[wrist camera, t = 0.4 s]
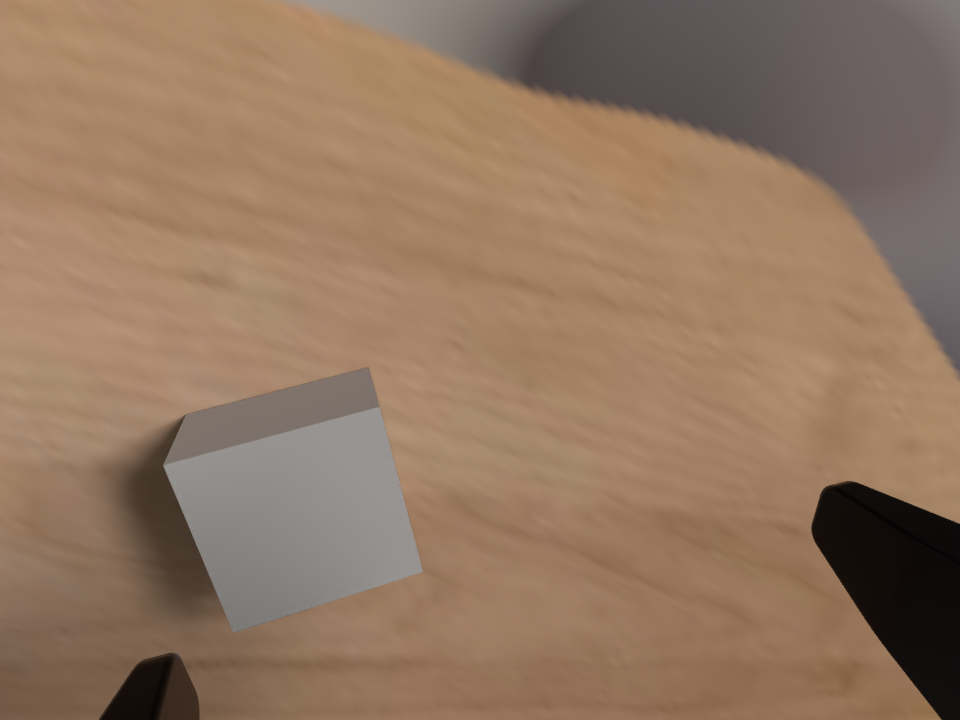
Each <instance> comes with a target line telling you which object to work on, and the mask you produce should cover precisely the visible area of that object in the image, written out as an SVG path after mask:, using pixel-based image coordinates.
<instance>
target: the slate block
mask: <svg viewBox="0 0 960 720" xmlns="http://www.w3.org/2000/svg"><path fill="white" fill-rule="evenodd" d="M163 466H164V469H165V471H166V473H167V476H168V478H169V481H170V483H171V485H172V488H173V490H174V493H175V495H176V497H177V500H178V502H179V504H180V507H181V509H182V512H183V514H184V516H185V519H186V521H187V524H188V526H189V528H190V531H191V533H192V536H193V538H194V540H195V543H196V545H197V547H198V550H199V552H200V555H201V557H202V559H203V562H204V564H205V567H206V569H207V571H208V574H209V576H210V578H211V581H212V583H213V586H214V588H215V590H216V593H217V595H218V598H219V600H220V602H221V605H222V607H223V610H224V612H225V614H226V617H227V619H228V621H229V624H230V626H231V629H232V631H233V633H235V632H238V631H241V630H244V629H247V628H250V627H254V626H257V625H260V624H263V623H266V622H269V621H272V620H275V619H278V618H282V617H285V616H288V615H291V614H294V613H297V612H300V611H303V610H306V609H309V608H313V607H316V606H319V605H322V604H325V603H328V602H331V601H334V600H337V599H341V598H344V597H347V596H350V595H353V594H356V593H359V592H362V591H365V590H369V589H372V588H375V587H378V586H381V585H384V584H387V583H390V582H393V581H397V580H400V579H403V578H406V577H409V576H412V575H415V574H418V573H421V572H423V570H422V566H421V562H420V559H419V555H418V551H417V547H416V543H415V540H414V536H413V532H412V528H411V524H410V521H409V517H408V513H407V509H406V505H405V502H404V498H403V494H402V490H401V486H400V483H399V479H398V475H397V471H396V467H395V464H394V460H393V456H392V452H391V448H390V445H389V441H388V437H387V433H386V429H385V426H384V422H383V418H382V414H381V410H380V407H379V403H378V399H377V396H376V392H375V388H374V385H373V381H372V378H371V374H370V370H369V367H368V368H365V369H361V370H357V371H353V372H349V373H345V374H341V375H338V376H334V377H330V378H326V379H322V380H318V381H314V382H310V383H307V384H303V385H299V386H295V387H291V388H287V389H283V390H280V391H276V392H272V393H268V394H264V395H260V396H256V397H252V398H249V399H245V400H241V401H237V402H233V403H229V404H225V405H222V406H218V407H214V408H210V409H206V410H202V411H198V412H194V413H191V414H187V415H186V416H185V418H184V420H183V422H182V424H181V427H180V429H179V431H178V433H177V436H176V438H175V440H174V442H173V444H172V447H171V449H170V451H169V453H168V456H167V458H166V460H165V462H164V465H163Z"/></svg>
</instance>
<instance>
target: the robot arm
mask: <svg viewBox="0 0 960 720" xmlns="http://www.w3.org/2000/svg"><path fill="white" fill-rule="evenodd" d="M811 529H812V535H813V538H814V541H815V543H816V545H817V546H818V548H819V549H820V551H821V552H822V554H823V555H824V557H825V558H826V560H827V561H828V563H829V565H830V566H831V568H832V569H833V571H834V572H835V574H836V575H837V577H838V578H839V580H840V581H841V583H842V585H843V586H844V588H845V589H846V591H847V592H848V594H849V595H850V597H851V598H852V600H853V601H854V603H855V604H856V606H857V608H858V609H859V611H860V612H861V614H862V615H863V617H864V618H865V620H866V621H867V623H868V624H869V626H870V627H871V629H872V630H873V632H874V633H875V634H876V636H877V637H878V639H879V640H880V641H881V643H882V644H883V645H884V647H885V648H886V649H887V651H888V652H889V653H890V654H891V656H892V657H893V658H894V659H895V661H896V662H897V663H898V665H899V666H900V667H901V668H902V670H903V671H904V672H905V674H906V675H907V676H908V677H909V679H910V680H911V681H912V682H913V684H914V685H915V686H916V688H917V689H918V690H919V691H920V693H921V694H922V695H923V696H924V698H925V699H926V700H927V702H928V703H929V704H930V705H931V707H932V708H933V709H934V711H935V712H936V713H937V714H938V716H939V717H940V718H941V719H942V720H960V524H959V523H956V522H954V521H951V520H949V519H946V518H944V517H941V516H939V515H937V514H934V513H932V512H929V511H927V510H924V509H922V508H919V507H917V506H914V505H912V504H909V503H907V502H904V501H902V500H899V499H897V498H894V497H892V496H889V495H887V494H884V493H882V492H879V491H877V490H874V489H872V488H869V487H867V486H864V485H862V484H859V483H857V482H853V481H846V482H841V483H837V484H833V485H829V486H827V487H825V488H824V489H823V490H822V492H821V494H820V498H819V501H818V505H817V508H816V512H815V515H814V518H813V522H812V526H811ZM99 720H199V702H198V696H197V693H196V690H195V688H194V686H193V684H192V681H191V679H190V677H189V675H188V673H187V671H186V668H185V666H184V664H183V662H182V660H181V658H180V657H179V655H177V654H176V653H168V654H164V655H160V656H156V657H152V658H148V659H145V660H142V661H141V662H139V663H138V664H137V665H136V666H135V667H134V669H133V670H132V671H131V673H130V674H129V676H128V677H127V679H126V680H125V682H124V683H123V685H122V686H121V687H120V689H119V690H118V692H117V693H116V695H115V696H114V698H113V699H112V701H111V702H110V704H109V705H108V707H107V708H106V709H105V711H104V712H103V714H102V715H101V717H100V718H99Z"/></svg>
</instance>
